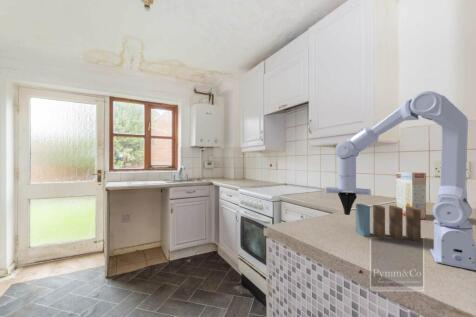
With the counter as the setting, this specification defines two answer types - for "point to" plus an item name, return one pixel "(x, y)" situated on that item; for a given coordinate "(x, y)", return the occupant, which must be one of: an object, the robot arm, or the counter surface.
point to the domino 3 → (396, 222)
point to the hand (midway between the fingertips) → (346, 214)
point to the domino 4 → (413, 223)
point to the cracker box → (411, 191)
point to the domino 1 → (363, 219)
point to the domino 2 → (379, 221)
